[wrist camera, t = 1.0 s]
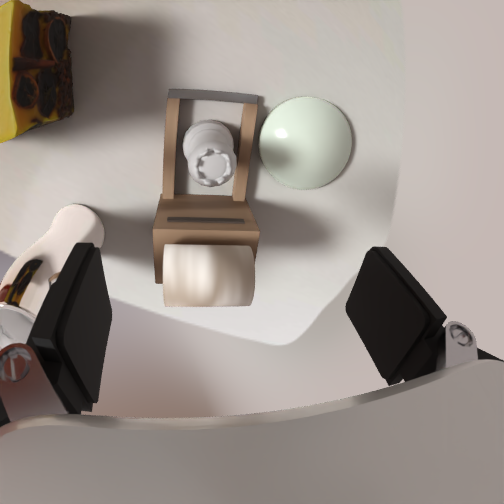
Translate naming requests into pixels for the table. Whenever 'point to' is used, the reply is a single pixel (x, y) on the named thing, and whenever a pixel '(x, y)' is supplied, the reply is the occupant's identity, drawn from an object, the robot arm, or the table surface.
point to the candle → (33, 69)
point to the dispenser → (206, 223)
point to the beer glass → (42, 270)
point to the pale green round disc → (305, 142)
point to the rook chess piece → (209, 153)
